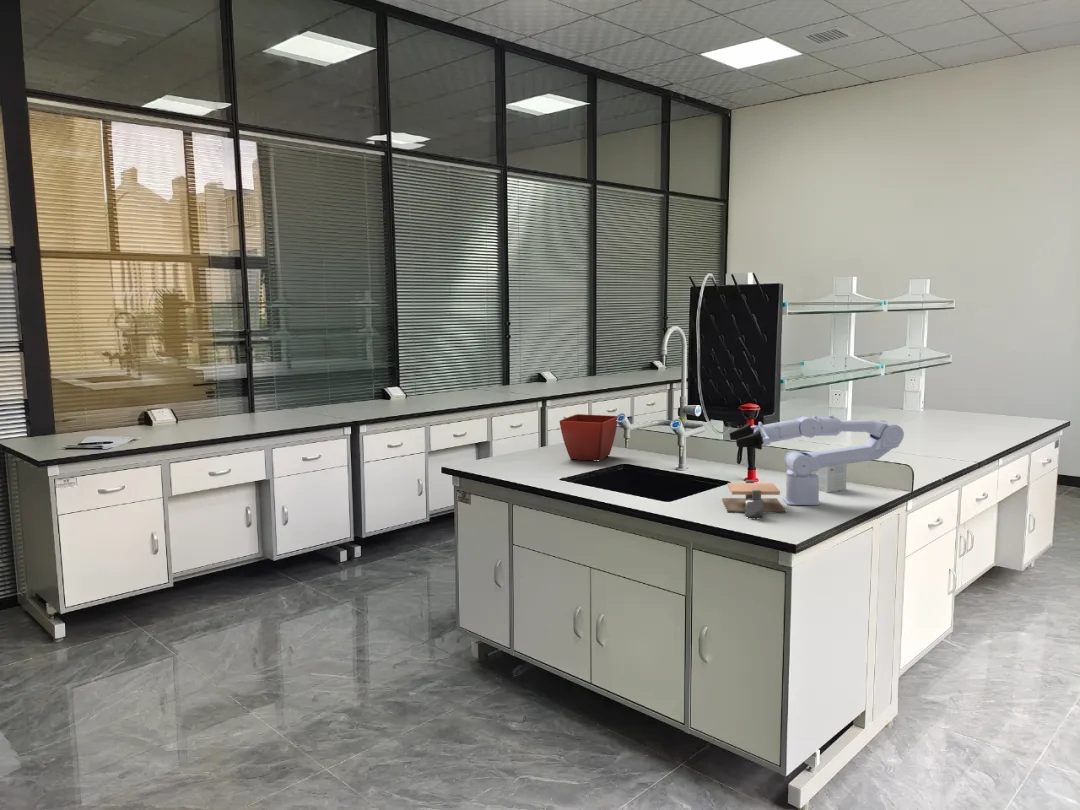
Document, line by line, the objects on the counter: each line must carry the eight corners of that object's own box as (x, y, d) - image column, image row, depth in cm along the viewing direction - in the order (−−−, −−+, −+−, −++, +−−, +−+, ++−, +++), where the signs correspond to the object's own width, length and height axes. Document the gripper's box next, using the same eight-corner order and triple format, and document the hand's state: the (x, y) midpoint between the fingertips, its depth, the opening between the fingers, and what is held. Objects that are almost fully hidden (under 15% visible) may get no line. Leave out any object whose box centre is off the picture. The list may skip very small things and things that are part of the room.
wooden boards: (776, 500, 243) (777, 480, 242) (786, 512, 228) (786, 491, 227) (721, 499, 245) (722, 480, 244) (727, 512, 230) (727, 491, 229)
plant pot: (603, 464, 305) (602, 422, 303) (559, 461, 313) (558, 420, 311) (619, 455, 322) (619, 415, 320) (577, 452, 330) (576, 414, 328)
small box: (834, 486, 258) (835, 455, 257) (846, 490, 253) (847, 458, 252) (815, 489, 256) (815, 458, 254) (827, 492, 250) (827, 461, 249)
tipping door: (773, 485, 240) (773, 482, 240) (780, 494, 229) (780, 491, 229) (727, 485, 242) (727, 482, 242) (732, 494, 231) (732, 491, 231)
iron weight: (761, 514, 227) (761, 498, 226) (764, 519, 222) (764, 502, 221) (743, 514, 227) (744, 498, 227) (746, 519, 222) (746, 502, 222)
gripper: (768, 413, 243) (725, 421, 243) (783, 425, 229) (738, 434, 229) (770, 434, 244) (728, 442, 245) (785, 448, 230) (740, 456, 231)
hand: (733, 439), depth 237 cm, fingers open, 7 cm apart
